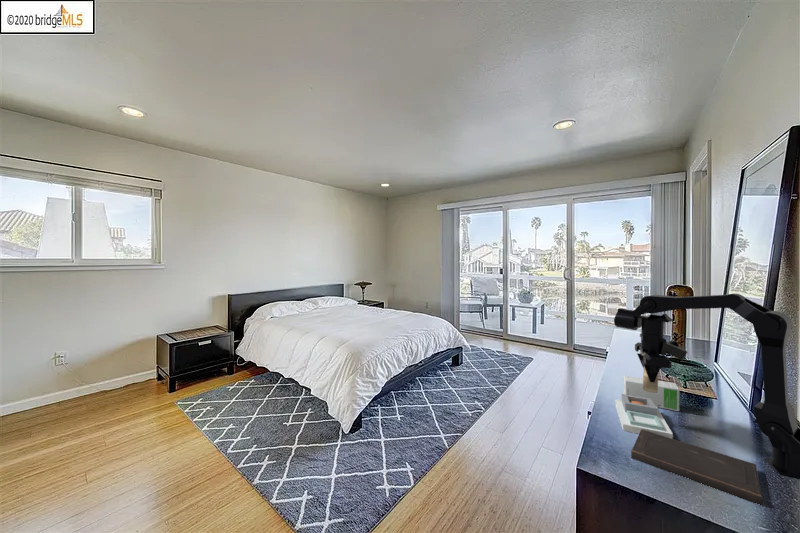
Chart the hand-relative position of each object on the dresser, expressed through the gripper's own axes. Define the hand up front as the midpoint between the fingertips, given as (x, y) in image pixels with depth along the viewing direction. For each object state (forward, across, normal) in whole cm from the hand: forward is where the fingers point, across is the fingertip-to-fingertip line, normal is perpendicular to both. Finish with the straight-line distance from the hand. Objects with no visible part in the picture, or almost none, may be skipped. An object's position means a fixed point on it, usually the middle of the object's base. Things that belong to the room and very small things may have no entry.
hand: (650, 379), depth 102 cm
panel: (+14, -1, +2) cm, 14 cm away
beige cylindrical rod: (+4, 0, 0) cm, 4 cm away
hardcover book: (+14, -23, -4) cm, 27 cm away
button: (+11, +3, +3) cm, 11 cm away
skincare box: (+9, +15, -11) cm, 21 cm away
